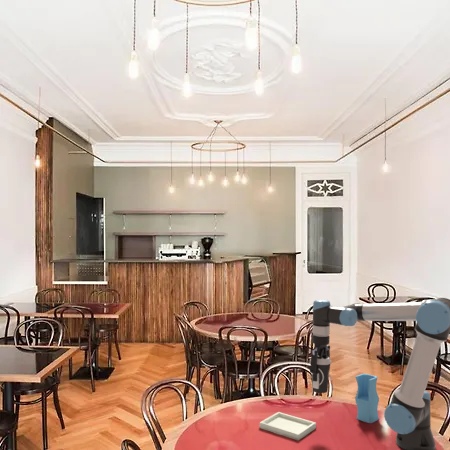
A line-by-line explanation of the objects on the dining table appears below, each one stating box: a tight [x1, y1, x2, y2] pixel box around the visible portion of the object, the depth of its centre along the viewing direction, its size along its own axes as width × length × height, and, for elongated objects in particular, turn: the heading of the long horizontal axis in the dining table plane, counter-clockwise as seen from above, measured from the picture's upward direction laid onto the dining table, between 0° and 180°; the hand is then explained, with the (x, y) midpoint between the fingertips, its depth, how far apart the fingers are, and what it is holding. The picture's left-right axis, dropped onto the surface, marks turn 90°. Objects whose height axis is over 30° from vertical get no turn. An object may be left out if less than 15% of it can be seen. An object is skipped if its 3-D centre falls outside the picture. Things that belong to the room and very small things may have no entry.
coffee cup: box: [309, 356, 332, 394], centre depth 202 cm, size 10×10×15 cm
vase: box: [354, 373, 380, 424], centre depth 215 cm, size 8×8×20 cm
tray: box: [259, 411, 317, 441], centre depth 204 cm, size 20×16×2 cm
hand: (320, 385), depth 202 cm, fingers closed on coffee cup, 7 cm apart
